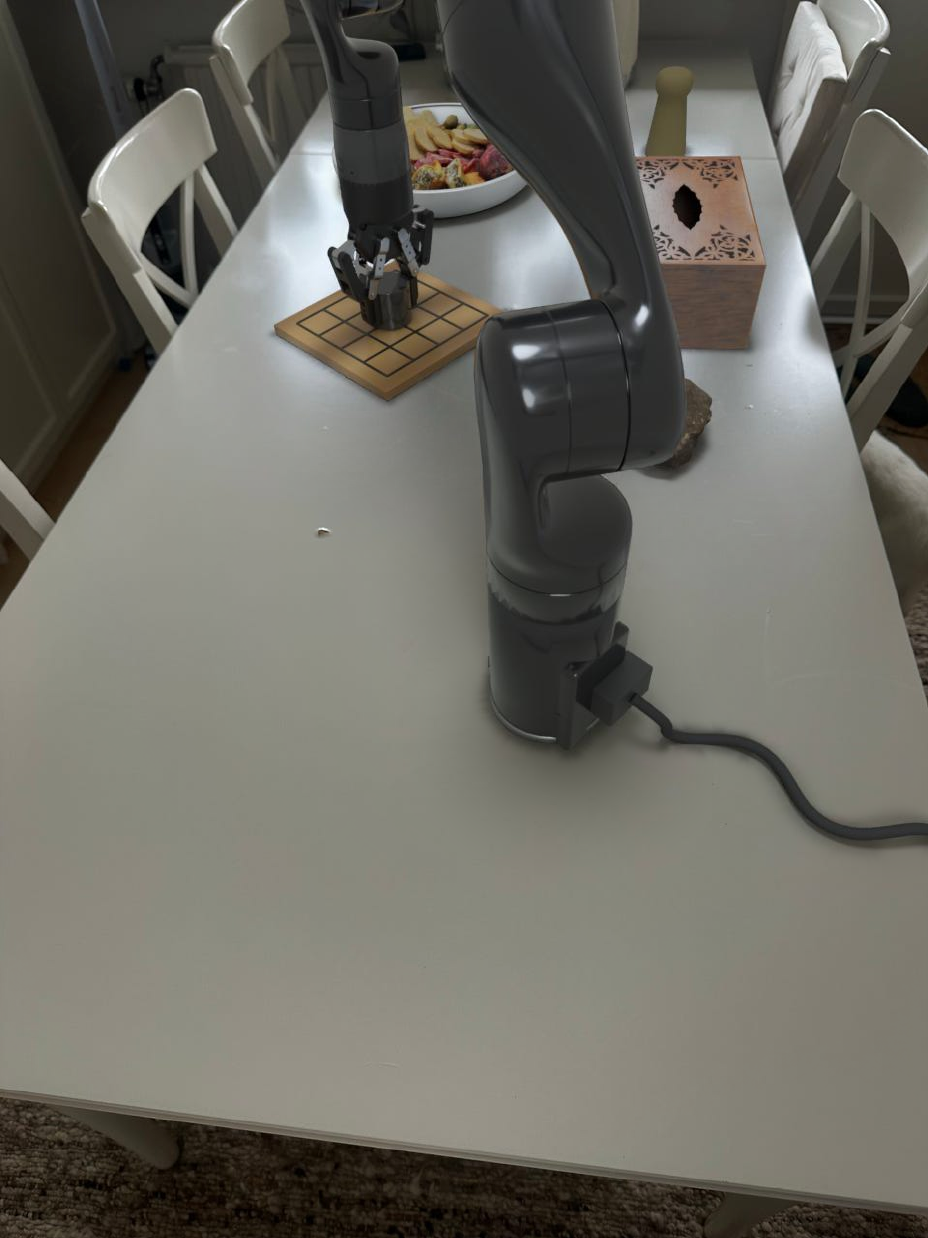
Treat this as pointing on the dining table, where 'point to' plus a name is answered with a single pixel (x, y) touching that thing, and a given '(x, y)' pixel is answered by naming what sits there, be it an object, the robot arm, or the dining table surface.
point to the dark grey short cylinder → (394, 301)
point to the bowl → (454, 162)
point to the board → (390, 335)
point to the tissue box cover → (705, 246)
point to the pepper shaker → (670, 113)
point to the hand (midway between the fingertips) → (391, 313)
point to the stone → (691, 425)
